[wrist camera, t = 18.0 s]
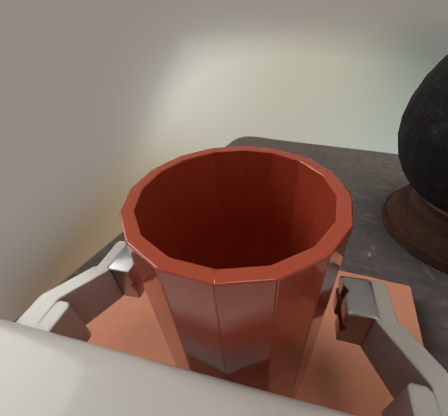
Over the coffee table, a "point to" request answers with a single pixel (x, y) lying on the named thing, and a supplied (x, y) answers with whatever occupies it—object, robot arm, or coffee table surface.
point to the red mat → (318, 365)
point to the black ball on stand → (423, 173)
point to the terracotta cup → (239, 259)
